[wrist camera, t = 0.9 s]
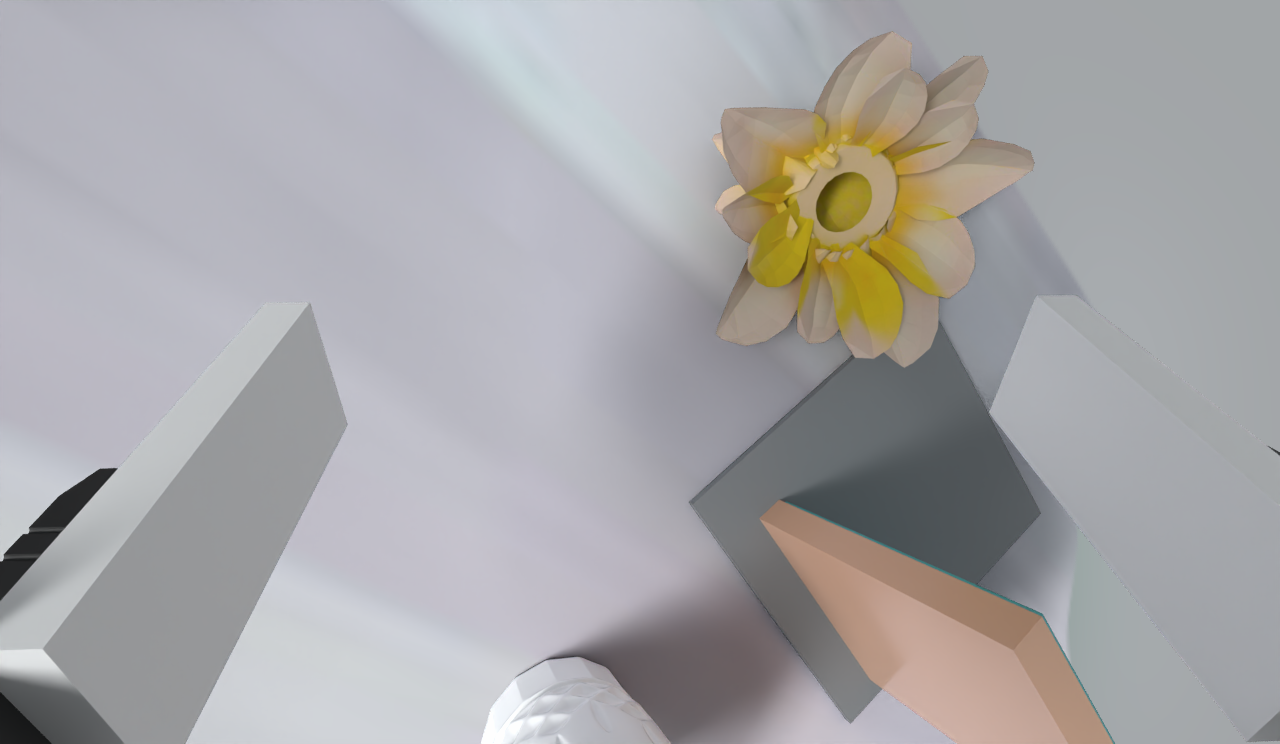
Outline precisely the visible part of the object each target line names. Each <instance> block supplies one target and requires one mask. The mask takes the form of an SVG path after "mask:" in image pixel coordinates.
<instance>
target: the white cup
mask: <svg viewBox="0 0 1280 744" xmlns="http://www.w3.org/2000/svg"><path fill="white" fill-rule="evenodd" d="M481 744H671V742H670V741H669V740H668V739H667V737H666V736H665V735H664V733H663V732H662V731H661V729H660V728H659V727H658V725H657V724H656V723H655V722H654V721H653V720H652V718H651V717H650V716H649V715H648V714H647V713H646V712H645V710H644V709H643V708H642V706H641V705H640V704H639V703H637V702H635V701H634V700H633V699H632V698H631V697H630V696H629V695H628V694H627V693H626V691H625V690H624V689H623V688H622V686H621V685H620V684H619V682H618V681H617V680H616V678H615V677H614V676H613V675H612V673H611V672H610V671H609V669H608V668H607V667H604V666H602V665H599V664H597V663H594V662H592V661H589V660H586V659H584V658H581V657H570V658H561V659H552V660H546V661H544V662H542V663H540V664H538V665H537V666H535V667H533V668H531V669H530V670H528V671H526V672H524V673H523V674H521V675H519V676H517V677H516V678H514V680H513V681H512V682H511V683H510V685H509V686H508V687H507V688H506V690H505V691H504V692H503V693H502V695H501V696H500V697H499V698H498V699H497V701H496V702H495V703H494V704H493V706H492V707H491V710H490V713H489V717H488V720H487V724H486V727H485V730H484V734H483V737H482V741H481Z"/></svg>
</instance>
